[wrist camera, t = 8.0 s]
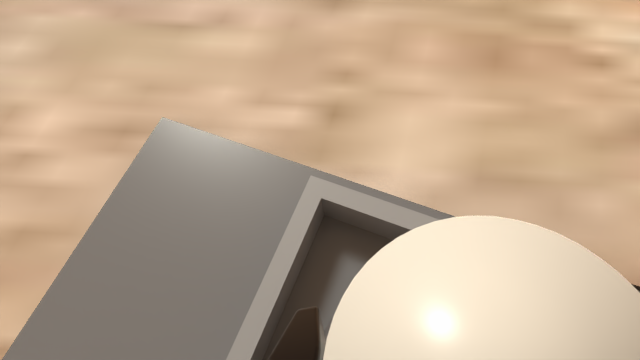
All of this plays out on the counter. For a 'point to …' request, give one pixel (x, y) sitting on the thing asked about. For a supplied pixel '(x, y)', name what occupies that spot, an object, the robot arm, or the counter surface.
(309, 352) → the robot arm
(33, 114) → the counter surface
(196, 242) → the holder dock
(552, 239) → the light bulb lamp
